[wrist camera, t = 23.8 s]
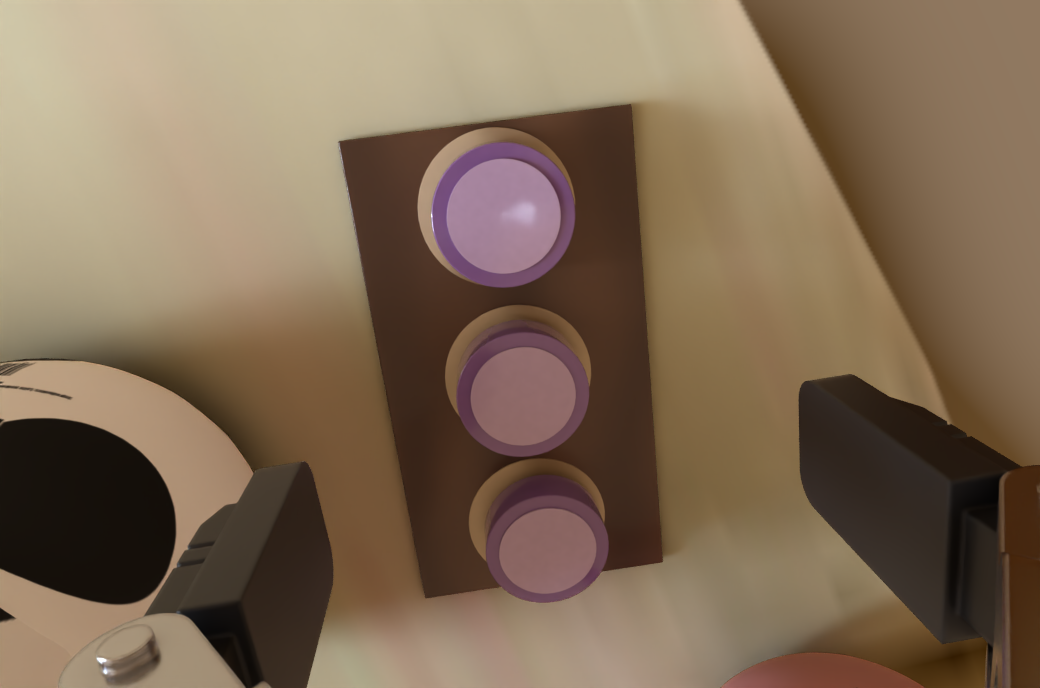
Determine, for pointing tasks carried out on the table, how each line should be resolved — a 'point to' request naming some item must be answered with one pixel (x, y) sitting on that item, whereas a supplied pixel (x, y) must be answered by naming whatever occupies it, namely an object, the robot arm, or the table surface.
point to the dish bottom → (521, 388)
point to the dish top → (545, 539)
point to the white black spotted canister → (95, 504)
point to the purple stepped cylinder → (503, 214)
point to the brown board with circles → (475, 307)
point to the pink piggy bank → (819, 673)
